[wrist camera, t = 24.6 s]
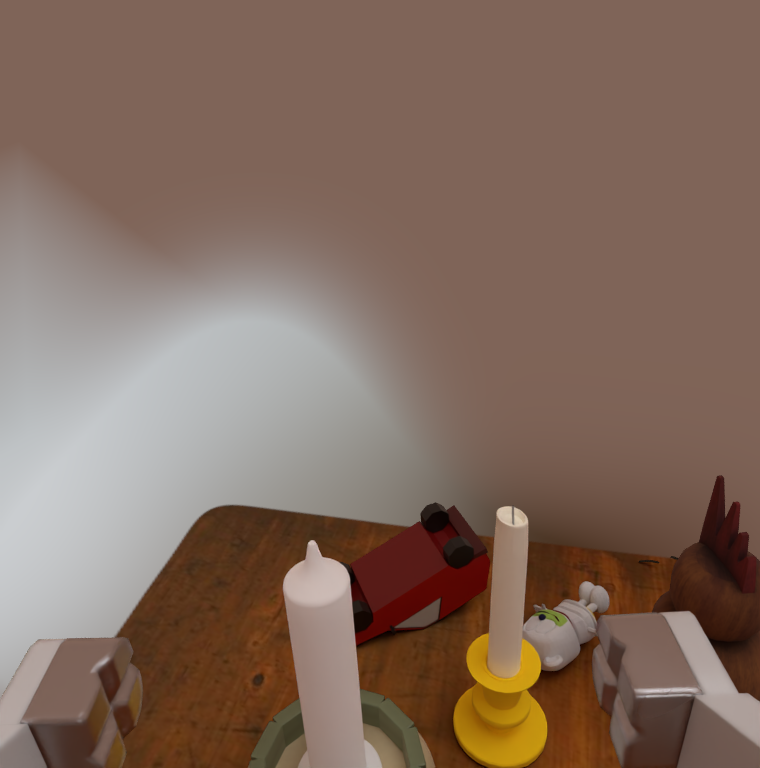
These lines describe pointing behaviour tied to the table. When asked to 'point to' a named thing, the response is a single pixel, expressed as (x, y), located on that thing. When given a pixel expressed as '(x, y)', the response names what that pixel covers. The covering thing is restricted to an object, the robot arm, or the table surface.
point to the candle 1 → (326, 663)
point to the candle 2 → (503, 664)
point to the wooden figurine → (722, 592)
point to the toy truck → (418, 575)
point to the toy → (566, 626)
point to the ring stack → (380, 728)
